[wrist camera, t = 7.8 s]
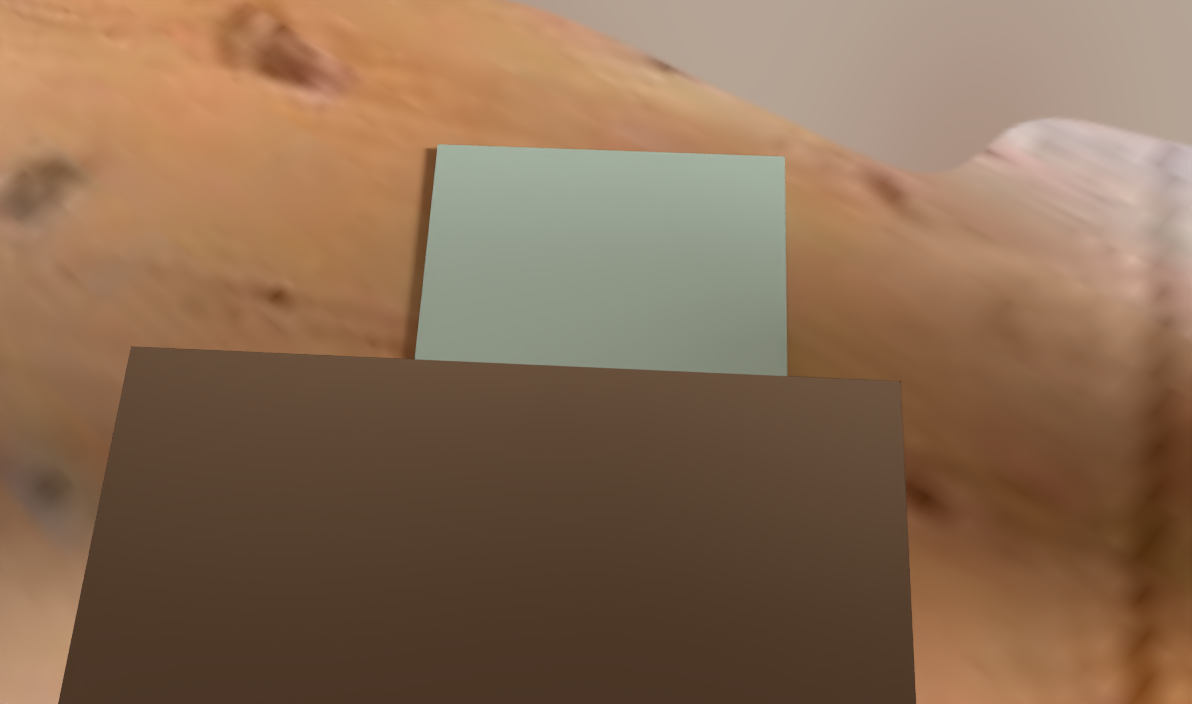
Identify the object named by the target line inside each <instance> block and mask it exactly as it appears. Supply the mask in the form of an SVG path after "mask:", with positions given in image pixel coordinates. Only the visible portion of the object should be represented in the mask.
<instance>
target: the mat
mask: <svg viewBox="0 0 1192 704" xmlns="http://www.w3.org/2000/svg"><path fill="white" fill-rule="evenodd" d="M415 359H419V360H441V361H463V362H485V363H507V364H530V365H552V366H574V367H596V368H618V369H640V370H662V371H684V372H707V373H729V374H751V375H773V376H787V306H786V221H785V157H780V156H752V155H724V154H695V153H667V152H639V151H610V150H582V149H554V148H526V147H497V146H469V145H441V144H438V147H437V156H436V165H435V175H434V184H433V193H432V203H431V212H430V221H429V231H428V240H427V249H426V259H425V268H424V277H423V287H422V296H421V305H420V315H419V324H418V333H417V343H416V352H415Z"/></svg>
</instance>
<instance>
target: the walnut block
mask: <svg viewBox="0 0 1192 704" xmlns="http://www.w3.org/2000/svg"><path fill="white" fill-rule="evenodd" d="M58 704H916V693H915V672H914V651H913V631H912V610H911V589H910V568H909V547H908V526H907V505H906V485H905V464H904V443H903V422H902V401H901V381H884V380H861V379H839V378H817V377H795V376H773V375H751V374H729V373H707V372H684V371H662V370H640V369H618V368H596V367H574V366H552V365H530V364H507V363H485V362H463V361H441V360H419V359H397V358H375V357H353V356H330V355H308V354H286V353H264V352H242V351H220V350H198V349H176V348H153V347H131V350H130V355H129V359H128V364H127V369H126V374H125V379H124V384H123V389H122V394H121V399H120V404H119V409H118V413H117V418H116V423H115V428H114V433H113V438H112V443H111V448H110V453H109V458H108V462H107V467H106V472H105V477H104V482H103V487H102V492H101V497H100V502H99V507H98V512H97V516H96V521H95V526H94V531H93V536H92V541H91V546H90V551H89V556H88V561H87V565H86V570H85V575H84V580H83V585H82V590H81V595H80V600H79V605H78V610H77V615H76V619H75V624H74V629H73V634H72V639H71V644H70V649H69V654H68V659H67V664H66V668H65V673H64V678H63V683H62V688H61V693H60V698H59V703H58Z"/></svg>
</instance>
